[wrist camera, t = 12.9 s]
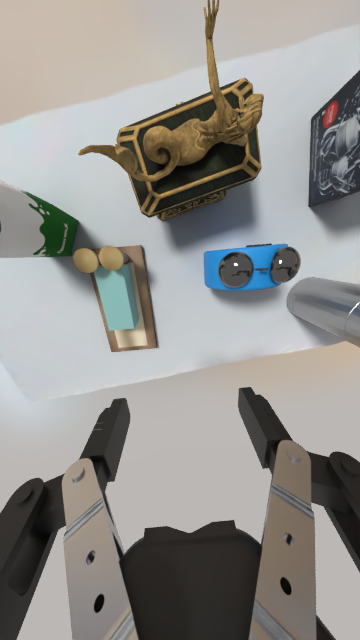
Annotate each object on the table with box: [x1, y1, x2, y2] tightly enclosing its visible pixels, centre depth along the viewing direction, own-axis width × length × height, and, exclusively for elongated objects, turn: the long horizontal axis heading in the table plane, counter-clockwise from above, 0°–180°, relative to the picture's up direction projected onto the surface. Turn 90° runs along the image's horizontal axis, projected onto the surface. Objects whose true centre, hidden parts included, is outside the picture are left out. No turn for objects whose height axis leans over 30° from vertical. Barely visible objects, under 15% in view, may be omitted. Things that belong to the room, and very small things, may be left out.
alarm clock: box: [204, 244, 301, 291], centre depth 29 cm, size 13×6×15 cm, turn 95°
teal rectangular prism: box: [94, 264, 139, 331], centre depth 33 cm, size 5×12×5 cm, turn 5°
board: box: [73, 245, 157, 352], centre depth 34 cm, size 11×23×9 cm, turn 5°
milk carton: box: [0, 181, 78, 258], centre depth 23 cm, size 9×9×20 cm
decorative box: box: [78, 0, 264, 221], centre depth 21 cm, size 20×10×20 cm, turn 108°
